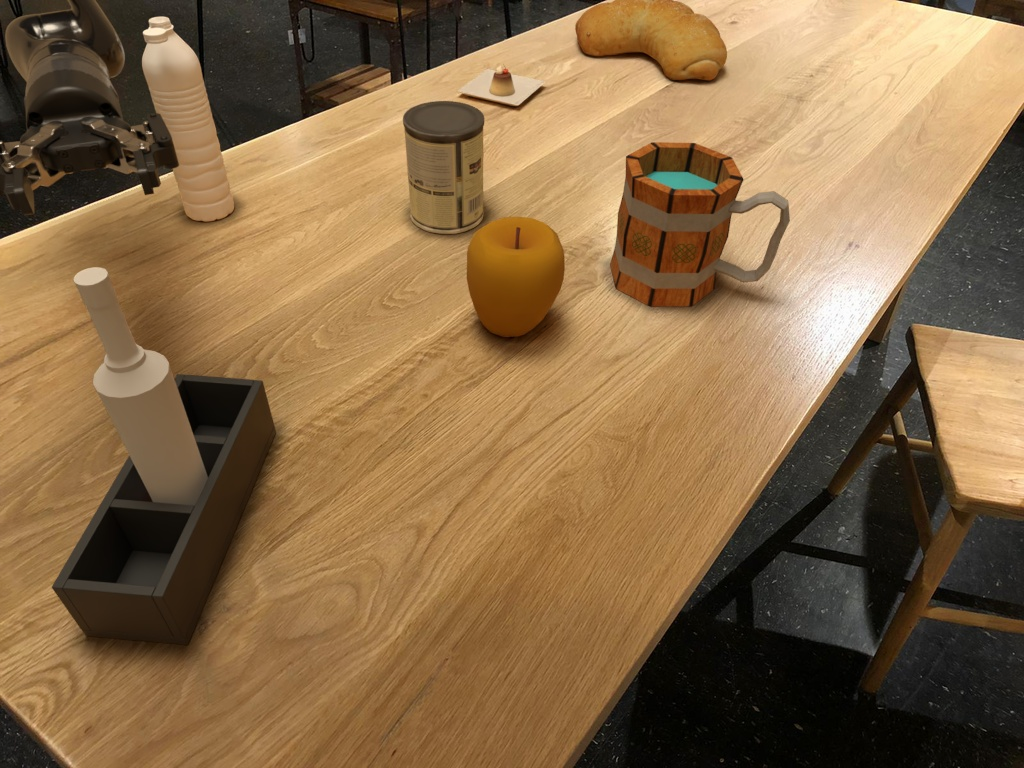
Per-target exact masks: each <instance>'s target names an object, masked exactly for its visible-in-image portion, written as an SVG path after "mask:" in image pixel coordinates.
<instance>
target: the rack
mask: <svg viewBox="0 0 1024 768" xmlns="http://www.w3.org/2000/svg"><path fill="white" fill-rule="evenodd" d="M174 379H175V382H176V385H177V388H178V391H179V394H180V397H181V400H182V403H183V406H184V409H185V412H186V415H187V418H188V420H189V423H190V426H191V429H192V432H193V435H194V438H195V441H196V444H197V447H198V450H199V453H200V456H201V459H202V462H203V465H204V467H205V470H206V473H207V476H208V479H207V481H206V483H205V486H204V488H203V490H202V492H201V494H200V496H199V498H198V500H197V502H196V504H195V506H194V505H182V504H170V503H158V502H153V501H152V499H151V497H150V495H149V493H148V491H147V489H146V487H145V485H144V483H143V481H142V479H141V477H140V475H139V473H138V471H137V469H136V467H135V465H134V463H133V461H132V459H131V457H130V456H129V455H128V457H127V458H126V460H125V462H124V464H123V465H122V467H121V469H120V470H119V472H118V473H117V475H116V478H114V480H113V482H112V484H111V485H110V488H109V489H108V490H107V492H106V494H105V495H104V497H103V499H102V500H101V502H100V504H99V506H98V508H97V509H96V511H95V513H94V514H93V515H92V518H90V521H89V523H88V524H87V526H86V527H85V529H84V531H83V533H82V535H81V536H80V538H79V540H78V541H77V543H76V545H75V546H74V548H73V550H72V552H71V553H70V555H69V557H68V558H67V560H66V562H65V564H64V565H63V567H62V569H61V571H60V572H59V574H58V575H57V576H56V579H55V580H54V582H53V584H52V586H51V589H52V590H53V591H54V593H55V594H56V596H57V597H58V599H59V601H60V602H61V603H62V605H64V607H65V609H66V611H67V612H68V613H69V614H70V616H71V617H72V618H73V620H74V622H75V623H76V625H77V626H78V627H79V629H80V630H81V632H82V633H83V635H84V636H86V637H91V638H92V637H93V638H104V639H116V640H127V641H137V642H138V641H139V642H149V643H159V644H160V643H161V644H172V645H180V646H181V645H182V646H188V645H189V643H190V641H191V638H192V635H193V633H194V631H195V628H196V626H197V624H198V621H199V619H200V616H201V614H202V611H203V609H204V607H205V604H206V602H207V599H208V598H209V594H210V592H211V590H212V587H213V585H214V583H215V580H216V578H217V575H218V573H219V571H220V568H221V566H222V563H223V561H224V559H225V556H226V554H227V552H228V549H229V546H230V544H231V542H232V539H233V536H234V535H235V532H236V530H237V527H238V525H239V522H240V520H241V518H242V515H243V513H244V511H245V508H246V506H247V503H248V500H249V498H250V496H251V494H252V491H253V489H254V486H255V484H256V481H257V479H258V476H259V475H260V472H261V469H262V467H263V465H264V463H265V460H266V457H267V455H268V453H269V450H270V448H271V445H272V444H273V441H274V438H275V436H276V434H277V430H276V427H275V423H274V418H273V415H272V411H271V408H270V403H269V400H268V396H267V392H266V388H265V384H264V381H263V380H262V379H261V380H260V379H250V378H236V377H222V376H210V375H198V374H184V373H183V374H182V373H177V374H176V376H175V377H174Z"/></svg>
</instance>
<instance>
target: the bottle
mask: <svg viewBox="0 0 1024 768" xmlns="http://www.w3.org/2000/svg"><path fill="white" fill-rule="evenodd" d="M73 282H74V285H75V287H76V289H77V292H78V293H79V296H80V298H81V300H82V303H83V304H84V306H85V307H86V309H87V312H88V314H89V316H90V318H91V321H92V323H93V325H94V329H95V330H96V333H97V335H98V337H99V340H100V342H101V344H102V347H103V348H104V350H105V353H106V354H105V355H104V359H103V362H102V363H101V365H100V366H99V368H97V370H96V371H95V372H94V374H93V379H92V384H93V386H94V389H95V390H96V393H97V394H98V397H99V399H100V400H101V402H102V404H103V407H104V408H105V410H106V412H107V414H108V416H109V418H110V420H111V422H112V424H113V426H114V429H115V430H116V432H117V434H118V436H119V438H120V440H121V442H122V444H123V445H124V448H125V451H126V453H127V454H128V457H129V456H130V457H131V459H132V461H133V463H134V465H135V467H136V469H137V471H138V473H139V475H140V477H141V479H142V481H143V483H144V485H145V487H146V489H147V491H148V493H149V495H150V497H151V499H152V501H153V502H158V503H170V504H182V505H194V506H195V504H196V502H197V500H198V498H199V496H200V494H201V492H202V490H203V488H204V486H205V483H206V481H207V479H208V476H207V473H206V470H205V467H204V465H203V462H202V459H201V456H200V453H199V450H198V447H197V444H196V441H195V438H194V435H193V432H192V429H191V426H190V423H189V420H188V418H187V415H186V412H185V409H184V406H183V403H182V400H181V397H180V394H179V391H178V388H177V385H176V382H175V377H174V374H173V371H172V368H171V365H170V362H169V361H168V359H167V358H166V356H165V355H163V354H162V353H160V352H157V351H155V350H150V349H144V348H143V346H141V345H139V344H137V343H136V341H135V338H134V336H133V333H132V331H131V329H130V327H129V324H128V321H127V319H126V316H125V314H124V312H123V309H122V307H121V304H120V302H119V298H118V294H117V292H116V290H115V287H114V285H113V282H112V279H111V277H110V274H109V271H108V270H107V269H106V268H104V267H99V266H94V267H88V268H85V269H82V270H80V271H79V272H77V273H75V275H74V277H73Z"/></svg>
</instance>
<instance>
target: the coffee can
mask: <svg viewBox="0 0 1024 768" xmlns="http://www.w3.org/2000/svg"><path fill="white" fill-rule="evenodd" d="M402 124H403V128H404V141H405V153H406V167H407V181H408V182H407V183H408V193H409V194H408V195H409V206H410V207H409V208H410V213H409V217H410V220H411V221H412V223H413V224H414V225H415V226H416V227H418V229H421V230H423V231H425V232H429V233H433V234H439V235H455V234H456V235H457V234H460V233H461V234H462V233H465V232H468V231H471V230H472V229H474V228H476V227H477V226H479V225H480V224H481V222H482V221H483V219H484V215H485V213H484V156H485V155H484V126H485V115H484V113H483V112H482V111H481V110H480V109H479V108H477V107H475V106H473V105H471V104H468V103H465V102H459V101H453V100H435V101H428V102H423V103H420V104H416V105H413V106H412V107H410V108H409V109H408V110H406V111H405V112H404V114H403V116H402Z"/></svg>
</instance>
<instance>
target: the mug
mask: <svg viewBox="0 0 1024 768" xmlns="http://www.w3.org/2000/svg"><path fill="white" fill-rule="evenodd" d="M743 182H744V177H743V175H742V173H741V171H740V169H739V168H738V166H737V164H736V162H735V160H734V159H733V157H731V156H729V155H726V154H724V153H721V152H719V151H716V150H714V149H711V148H709V147H706V146H703V145H701V144H698V143H696V142H658V141H657V142H655V141H654V142H653V141H651V142H650V143H648V144H646V145H644V146H642V147H639V148H638V149H637V150H634V151H633V152H631V153H629V154H627V155H626V156H625V179H624V185H623V191H622V196H621V199H620V204H619V208H618V212H617V223H616V236H615V244H614V248H613V249H614V250H613V253H612V255H611V260H610V263H609V266H610V270H611V275H612V279H613V283H614V288H615V289H616V290H618V291H620V292H622V293H624V294H625V295H627V296H629V297H631V298H633V299H635V300H637V301H639V302H640V303H643V304H644V305H646V306H648V307H693V306H694V305H696V304H697V303H698V302H700V301H701V300H702V299H704V298H705V297H706V296H707V295H709V294H710V293H711V292H712V291H713V290H715V288H716V287H715V286H716V280H717V272H718V273H720V274H723V275H725V276H728V277H730V278H733V280H737V281H739V282H740V283H752V282H753V283H754V282H758V281H760V280H761V279H762V278H763V276H765V275H766V274H767V273H768V272H769V270H770V269H771V267H772V265H773V262H774V260H775V258H776V256H777V254H778V250H779V246H780V244H781V241H782V239H783V236H784V234H785V233H786V231H787V228H788V226H789V224H790V221H791V218H790V217H791V216H790V205H789V200H788V199H787V198H785V196H782V195H781V194H779V193H777V191H775V190H774V191H773V190H771V191H763V192H757V193H756V194H754V195H752V196H751V197H749V198H747V199H745V200H737V197H738V194H739V192H740V189H741V187H742V185H743ZM769 204H771V205H773V206H775V207H776V208H778V209H780V214H779V222H778V223H777V225H776V227H775V229H774V231H773V233H772V235H771V237H770V238H769V242H768V245H767V248H766V251H765V254H764V257H763V260H762V263H761V264H760V265H759V266H758V267H757V269H750V270H745V269H743V268H741V267H739V266H738V265H736V264H734V263H731V262H728V261H726V260H723V259H721V256H722V254H723V251H724V248H725V246H726V244H727V241H728V238H729V234H730V228H731V221H732V215H733V214H741V215H743V214H745V213H748V212H750V211H752V210H754V209H755V208H758V206H761V205H769Z"/></svg>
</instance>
